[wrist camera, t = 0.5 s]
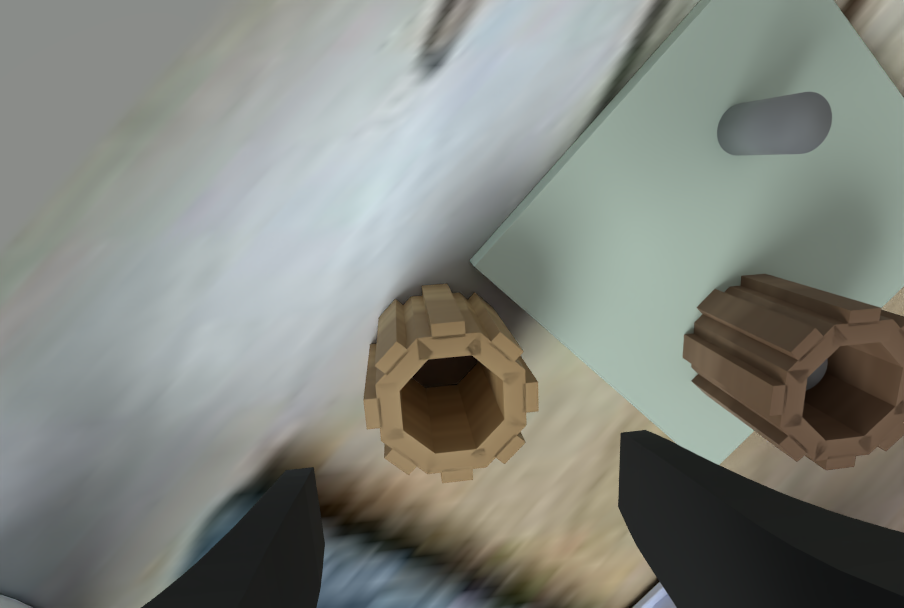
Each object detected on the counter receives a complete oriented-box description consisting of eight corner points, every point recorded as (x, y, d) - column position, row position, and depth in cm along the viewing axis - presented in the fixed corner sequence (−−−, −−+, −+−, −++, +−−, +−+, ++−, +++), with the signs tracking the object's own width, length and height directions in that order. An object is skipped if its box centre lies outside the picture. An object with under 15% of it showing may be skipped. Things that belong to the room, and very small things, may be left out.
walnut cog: (834, 331, 21) (963, 380, 16) (738, 424, 22) (835, 498, 17) (756, 246, 20) (872, 272, 15) (656, 348, 21) (736, 404, 16)
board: (952, 206, 22) (1079, 216, 18) (694, 457, 24) (757, 518, 20) (754, -61, 18) (857, -125, 14) (469, 260, 20) (489, 285, 16)
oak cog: (531, 341, 21) (572, 393, 16) (444, 434, 22) (459, 511, 17) (432, 256, 20) (445, 285, 15) (343, 358, 20) (328, 418, 16)
